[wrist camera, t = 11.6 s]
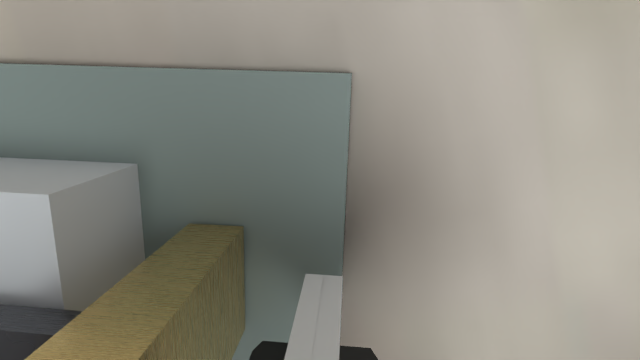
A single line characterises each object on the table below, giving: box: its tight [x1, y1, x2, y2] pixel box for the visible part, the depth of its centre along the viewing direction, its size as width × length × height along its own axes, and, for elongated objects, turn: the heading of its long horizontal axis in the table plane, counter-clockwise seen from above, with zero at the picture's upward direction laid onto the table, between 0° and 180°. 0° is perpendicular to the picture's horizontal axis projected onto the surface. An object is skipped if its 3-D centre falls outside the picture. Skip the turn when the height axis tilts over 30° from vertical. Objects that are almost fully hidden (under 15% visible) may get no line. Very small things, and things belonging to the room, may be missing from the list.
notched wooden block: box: [24, 223, 245, 360], centre depth 13 cm, size 5×5×9 cm
